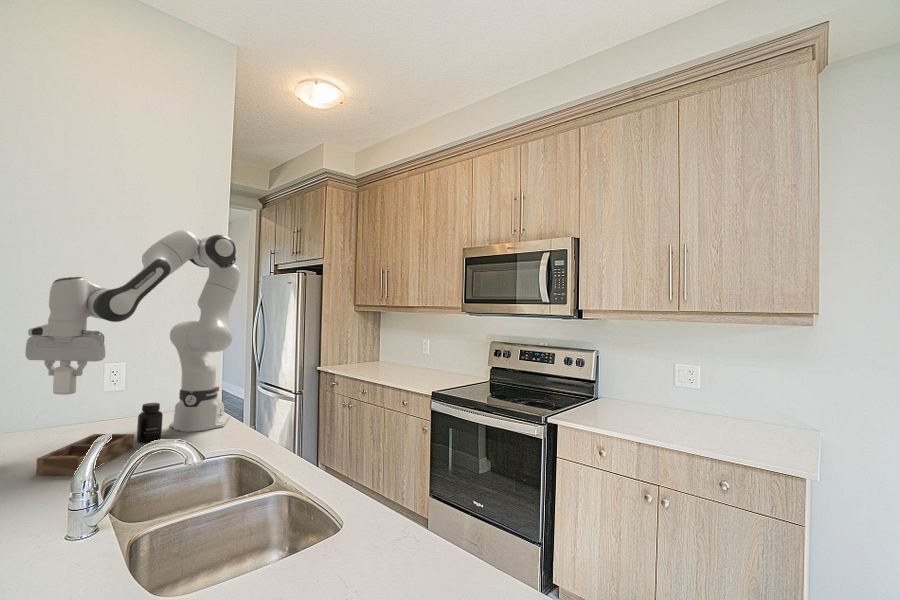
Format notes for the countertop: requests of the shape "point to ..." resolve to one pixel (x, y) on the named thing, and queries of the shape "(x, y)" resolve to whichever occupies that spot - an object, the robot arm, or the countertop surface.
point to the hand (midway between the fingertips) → (65, 375)
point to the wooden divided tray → (82, 454)
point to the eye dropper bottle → (64, 379)
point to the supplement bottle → (149, 423)
